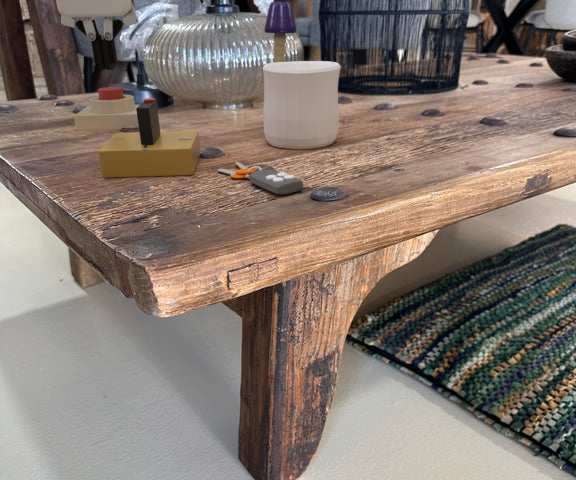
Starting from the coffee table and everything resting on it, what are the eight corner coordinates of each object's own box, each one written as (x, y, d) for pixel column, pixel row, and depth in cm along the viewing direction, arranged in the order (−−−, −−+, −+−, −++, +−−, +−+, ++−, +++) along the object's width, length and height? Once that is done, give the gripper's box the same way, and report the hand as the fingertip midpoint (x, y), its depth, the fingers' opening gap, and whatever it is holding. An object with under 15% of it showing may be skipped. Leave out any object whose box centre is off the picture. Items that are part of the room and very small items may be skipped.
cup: (251, 140, 78) (247, 63, 73) (311, 130, 83) (311, 58, 78) (288, 154, 71) (287, 71, 66) (351, 142, 76) (354, 64, 71)
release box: (76, 130, 85) (71, 103, 84) (90, 120, 92) (85, 94, 91) (143, 128, 86) (139, 101, 84) (152, 118, 93) (148, 92, 91)
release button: (97, 102, 86) (95, 90, 85) (102, 98, 89) (101, 87, 88) (121, 102, 86) (119, 90, 85) (126, 98, 89) (124, 86, 88)
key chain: (307, 190, 58) (307, 176, 57) (278, 198, 56) (277, 183, 55) (237, 164, 67) (236, 151, 66) (210, 170, 65) (209, 157, 64)
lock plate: (102, 178, 63) (97, 149, 62) (120, 156, 71) (116, 131, 70) (193, 175, 63) (190, 147, 62) (200, 154, 72) (198, 128, 70)
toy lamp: (276, 117, 92) (273, 1, 84) (302, 119, 90) (301, 1, 82) (261, 122, 88) (256, 2, 81) (287, 125, 86) (285, 1, 79)
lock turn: (153, 144, 64) (148, 105, 62) (140, 145, 64) (135, 105, 62) (160, 134, 68) (156, 97, 66) (148, 135, 68) (144, 98, 66)
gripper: (18, -78, 73) (48, 73, 82) (135, -80, 74) (153, 70, 82) (38, -72, 80) (64, 67, 88) (145, -74, 80) (161, 64, 89)
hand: (107, 68), depth 85 cm, fingers closed
